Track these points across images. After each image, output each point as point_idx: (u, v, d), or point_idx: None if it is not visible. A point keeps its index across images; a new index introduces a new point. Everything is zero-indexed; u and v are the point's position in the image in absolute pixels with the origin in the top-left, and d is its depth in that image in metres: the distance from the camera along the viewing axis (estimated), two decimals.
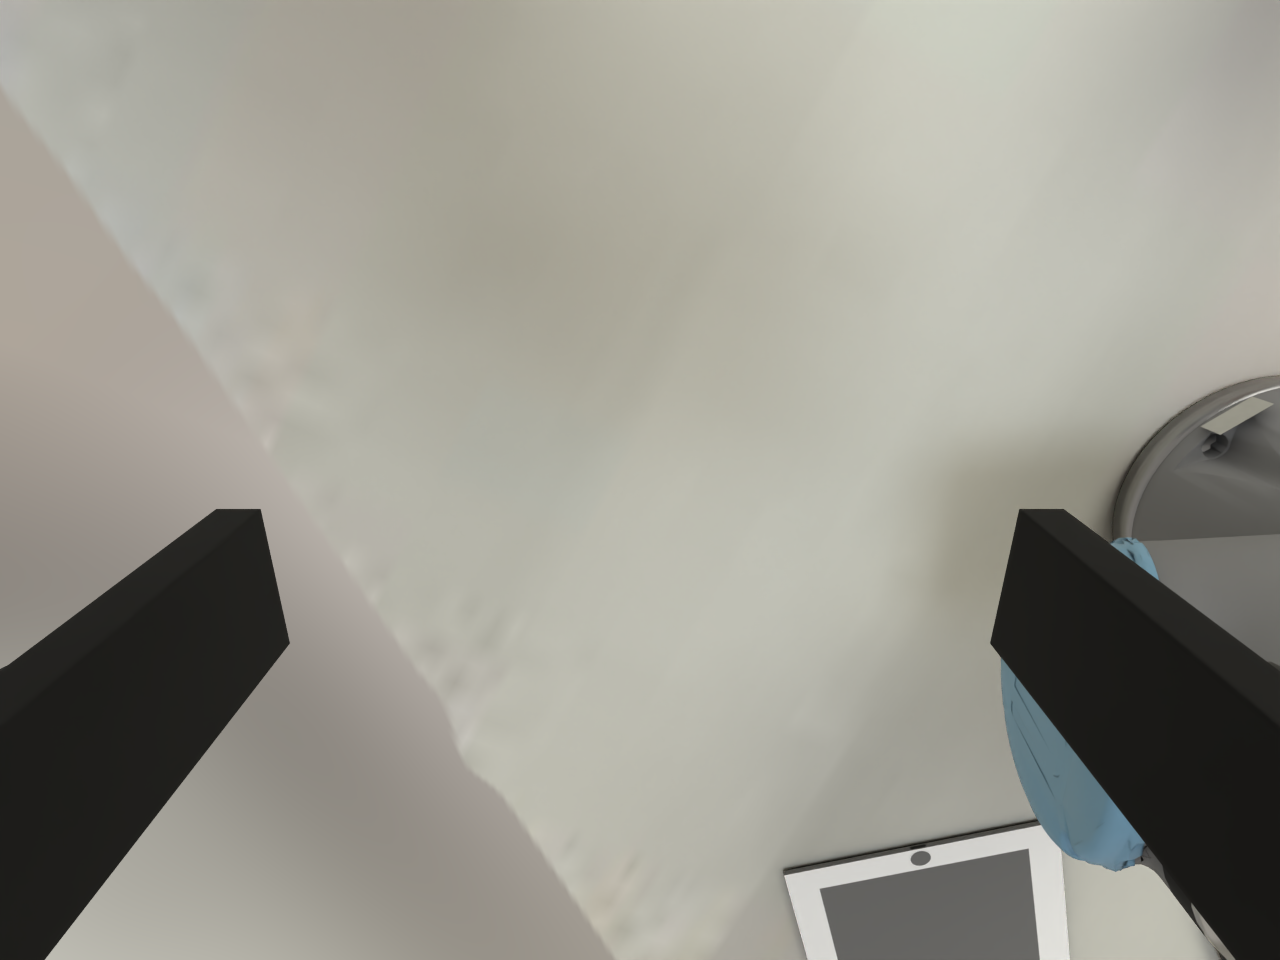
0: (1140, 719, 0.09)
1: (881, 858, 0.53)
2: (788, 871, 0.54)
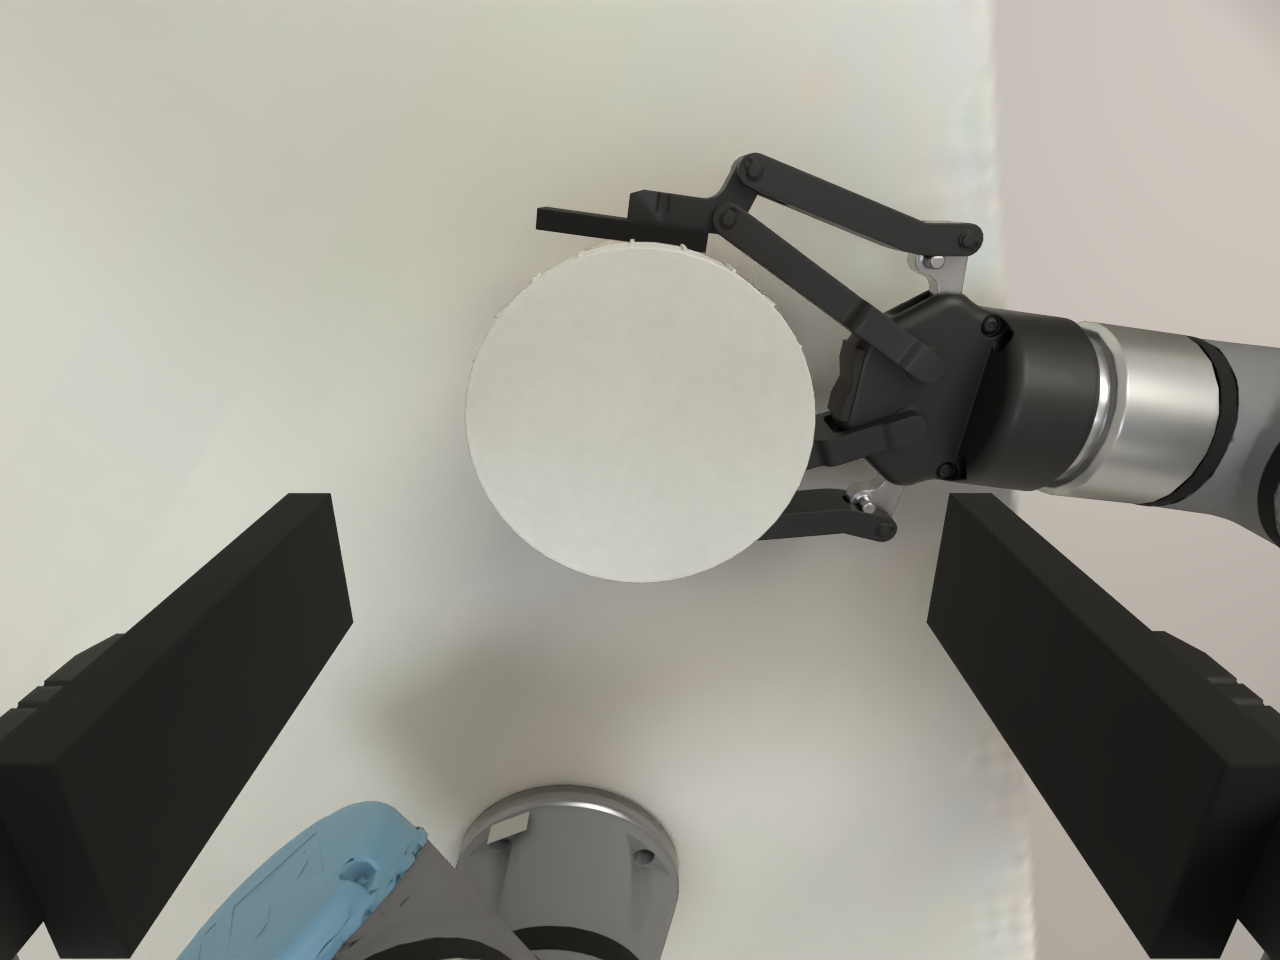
0: (1042, 685, 0.10)
1: None
2: None
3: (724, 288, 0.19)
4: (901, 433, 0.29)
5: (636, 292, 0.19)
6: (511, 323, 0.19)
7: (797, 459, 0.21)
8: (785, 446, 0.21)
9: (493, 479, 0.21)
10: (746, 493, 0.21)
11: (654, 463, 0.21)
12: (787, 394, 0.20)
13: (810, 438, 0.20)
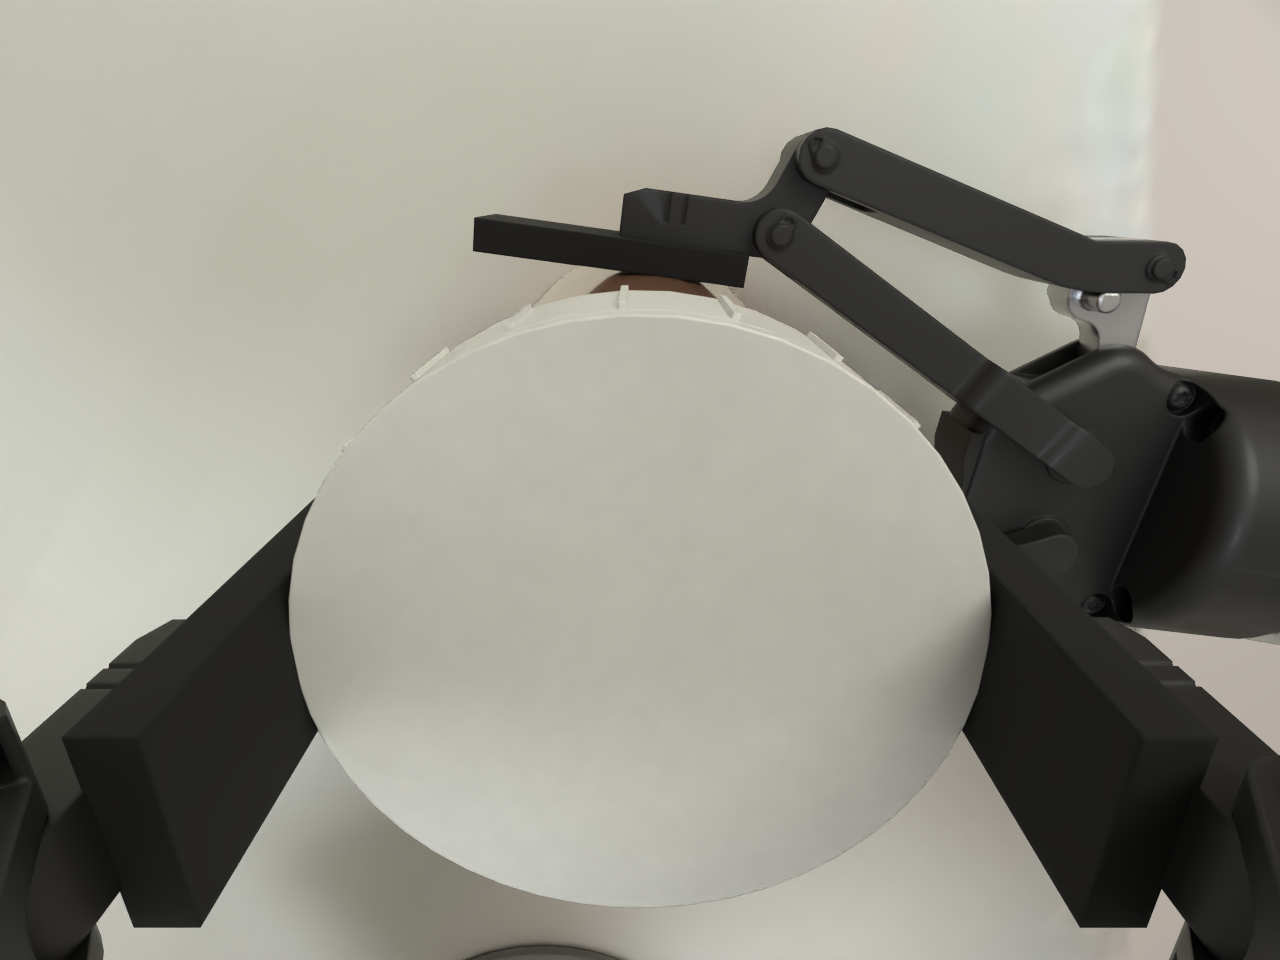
0: (989, 669, 0.10)
1: None
2: None
3: (821, 399, 0.09)
4: (1038, 559, 0.19)
5: (632, 407, 0.09)
6: (368, 469, 0.09)
7: (947, 714, 0.11)
8: (925, 692, 0.10)
9: (356, 747, 0.11)
10: (844, 770, 0.11)
11: (668, 721, 0.11)
12: (938, 601, 0.10)
13: (976, 679, 0.10)
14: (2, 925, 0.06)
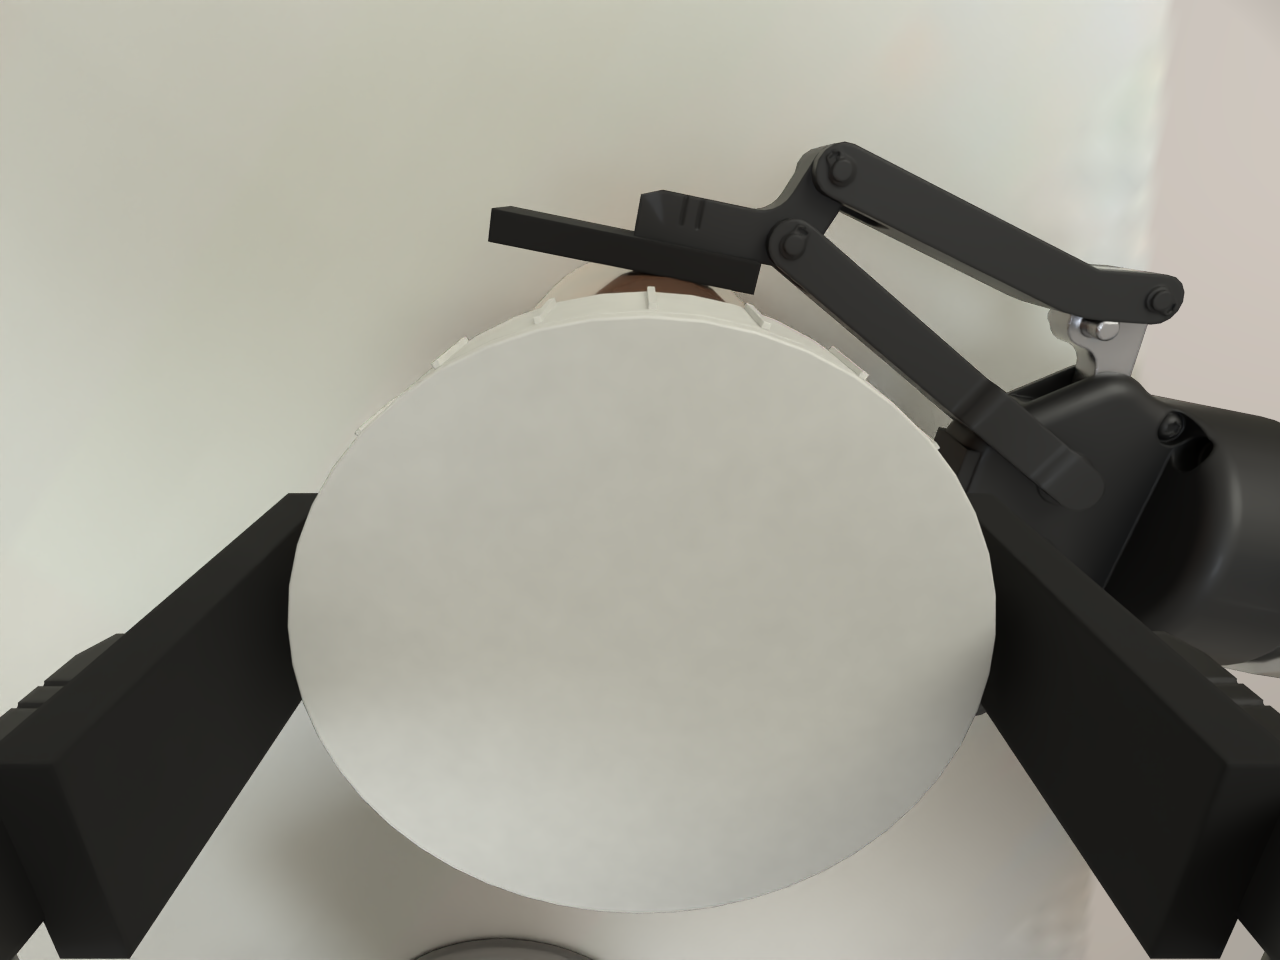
0: (1042, 684, 0.10)
1: None
2: None
3: (332, 548, 0.10)
4: None
5: (376, 690, 0.10)
6: (470, 857, 0.12)
7: (688, 347, 0.08)
8: (656, 381, 0.09)
9: (751, 880, 0.12)
10: (778, 454, 0.09)
11: (710, 641, 0.10)
12: (530, 395, 0.09)
13: (631, 325, 0.08)
14: None
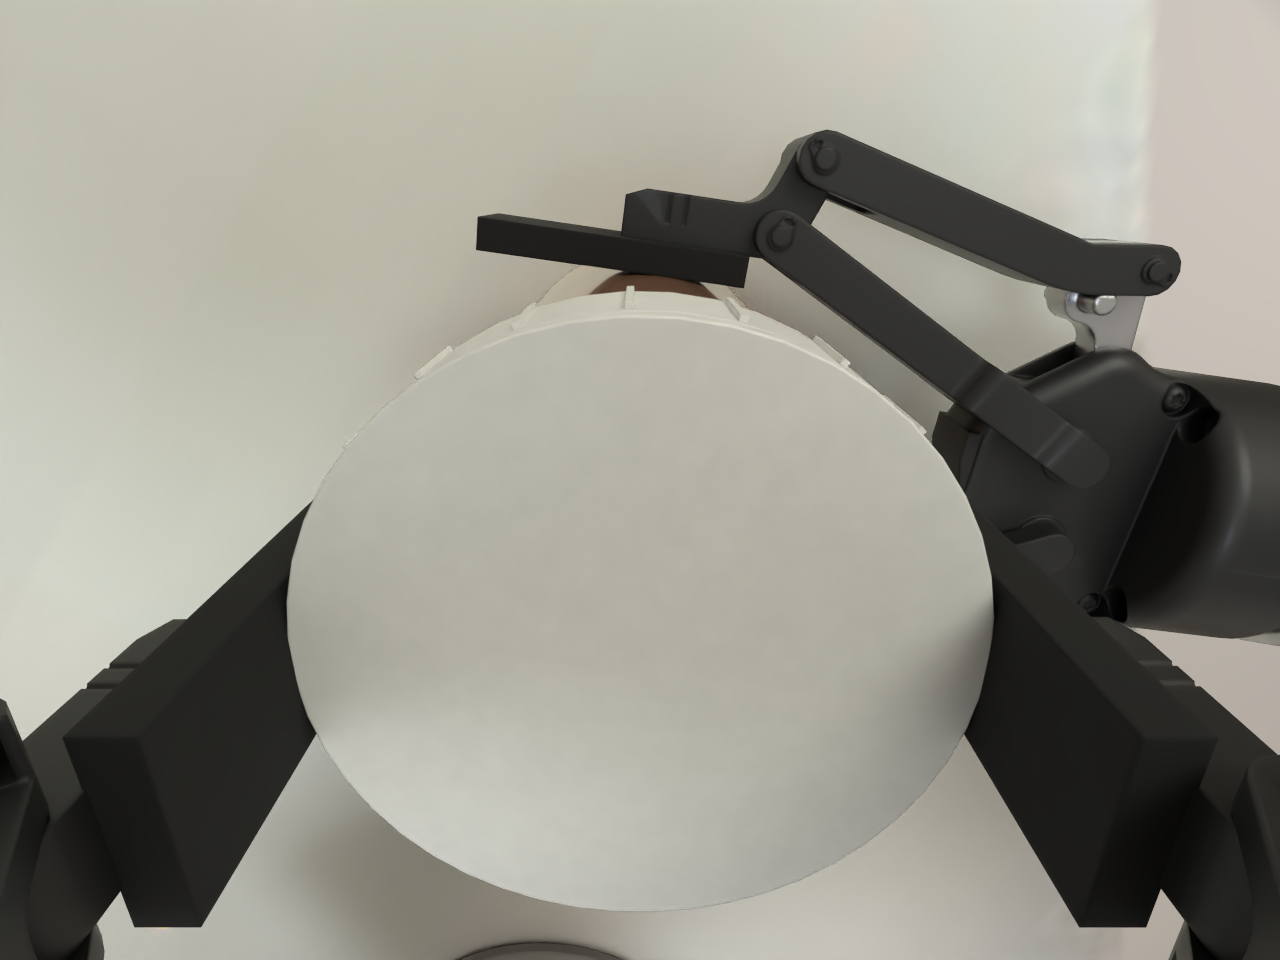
0: (989, 668, 0.10)
1: None
2: None
3: (326, 562, 0.10)
4: (1034, 559, 0.20)
5: (379, 701, 0.10)
6: (482, 863, 0.12)
7: (665, 344, 0.09)
8: (636, 379, 0.09)
9: (764, 874, 0.12)
10: (762, 446, 0.09)
11: (707, 637, 0.10)
12: (511, 400, 0.09)
13: (607, 325, 0.08)
14: (3, 925, 0.06)
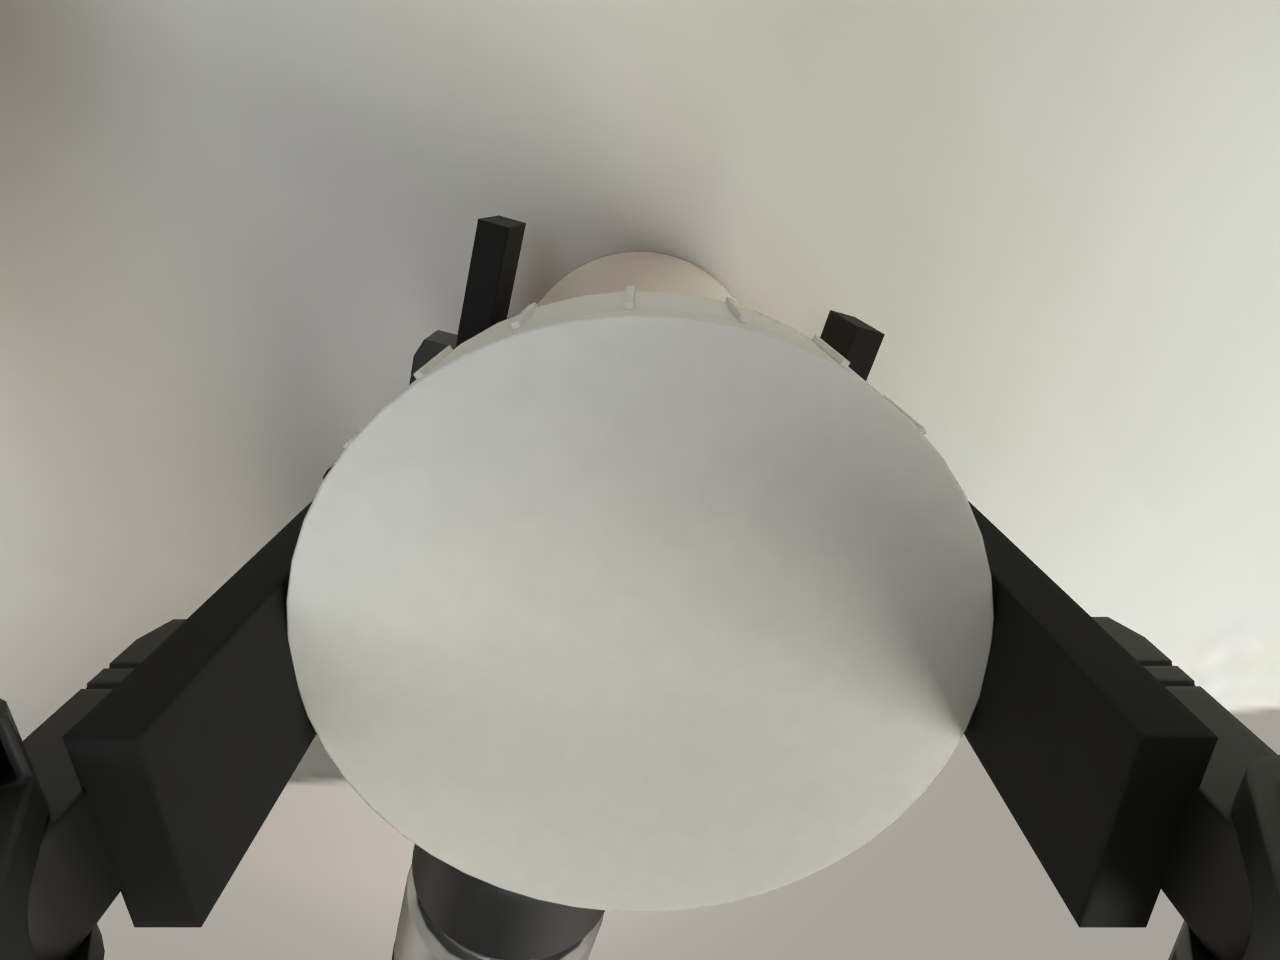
0: (988, 668, 0.10)
1: None
2: None
3: (326, 562, 0.10)
4: None
5: (378, 701, 0.10)
6: (482, 863, 0.12)
7: (665, 344, 0.09)
8: (636, 379, 0.09)
9: (764, 873, 0.12)
10: (762, 446, 0.09)
11: (707, 637, 0.10)
12: (511, 400, 0.09)
13: (607, 325, 0.08)
14: (3, 925, 0.06)
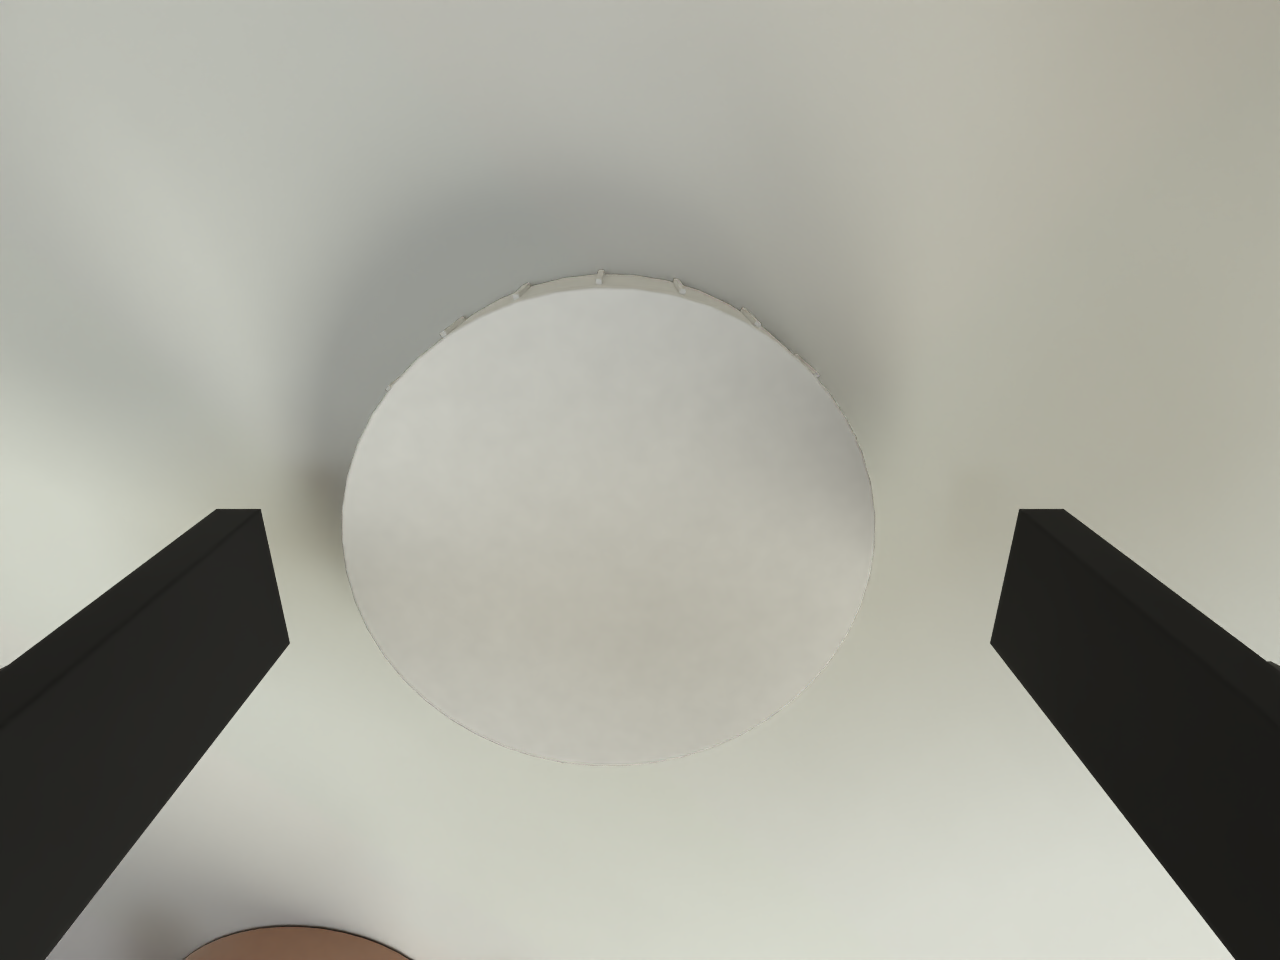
0: (1140, 718, 0.09)
1: None
2: None
3: (373, 476, 0.13)
4: None
5: (410, 588, 0.14)
6: (489, 724, 0.15)
7: (624, 309, 0.12)
8: (604, 335, 0.12)
9: (710, 731, 0.15)
10: (697, 384, 0.12)
11: (661, 533, 0.13)
12: (513, 351, 0.12)
13: (582, 295, 0.12)
14: None
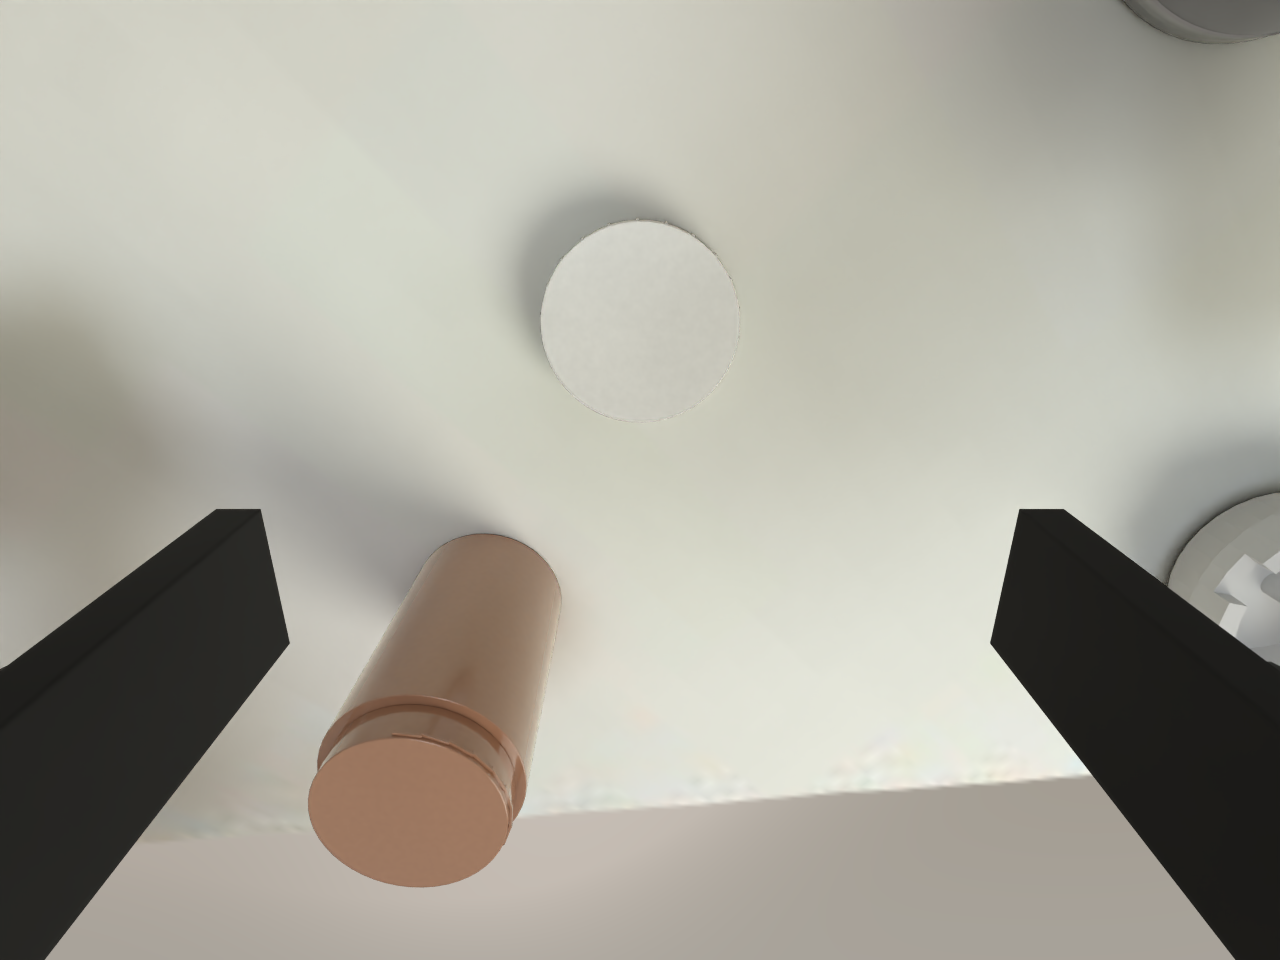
0: (1141, 719, 0.09)
1: None
2: None
3: (554, 291, 0.35)
4: None
5: (564, 338, 0.36)
6: (590, 401, 0.37)
7: (646, 228, 0.34)
8: (639, 238, 0.34)
9: (679, 405, 0.37)
10: (672, 256, 0.35)
11: (659, 316, 0.36)
12: (607, 244, 0.34)
13: (632, 223, 0.34)
14: None
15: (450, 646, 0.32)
